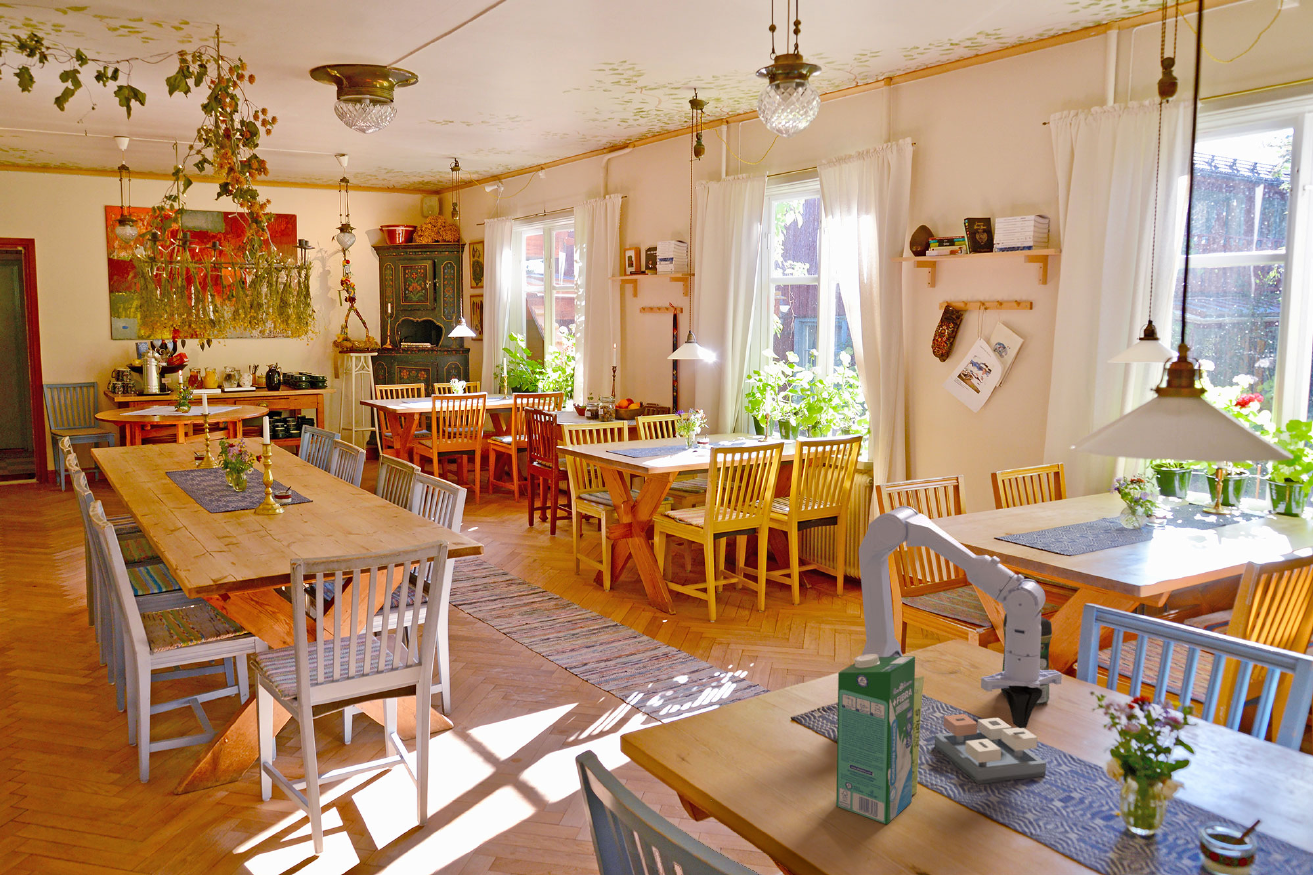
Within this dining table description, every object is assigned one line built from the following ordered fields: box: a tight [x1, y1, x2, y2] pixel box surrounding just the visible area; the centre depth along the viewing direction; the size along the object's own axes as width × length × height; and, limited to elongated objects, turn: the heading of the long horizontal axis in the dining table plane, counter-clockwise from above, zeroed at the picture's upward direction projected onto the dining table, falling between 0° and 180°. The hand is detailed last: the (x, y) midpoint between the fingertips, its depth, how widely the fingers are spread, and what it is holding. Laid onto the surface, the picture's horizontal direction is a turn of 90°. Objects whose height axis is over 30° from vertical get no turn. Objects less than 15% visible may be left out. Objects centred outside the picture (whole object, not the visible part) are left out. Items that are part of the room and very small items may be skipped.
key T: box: [1001, 727, 1038, 757], centre depth 161 cm, size 4×4×4 cm
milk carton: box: [835, 654, 916, 825], centre depth 148 cm, size 9×9×25 cm
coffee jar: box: [1000, 612, 1053, 707], centre depth 191 cm, size 10×8×19 cm
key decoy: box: [943, 713, 978, 742], centre depth 166 cm, size 4×4×4 cm
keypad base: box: [934, 729, 1047, 785], centre depth 164 cm, size 13×14×2 cm
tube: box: [912, 675, 925, 796], centre depth 153 cm, size 6×5×20 cm
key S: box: [965, 739, 1001, 768], centre depth 159 cm, size 4×4×4 cm
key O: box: [977, 717, 1012, 746], centre depth 168 cm, size 4×4×4 cm
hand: (1019, 725), depth 160 cm, fingers closed
